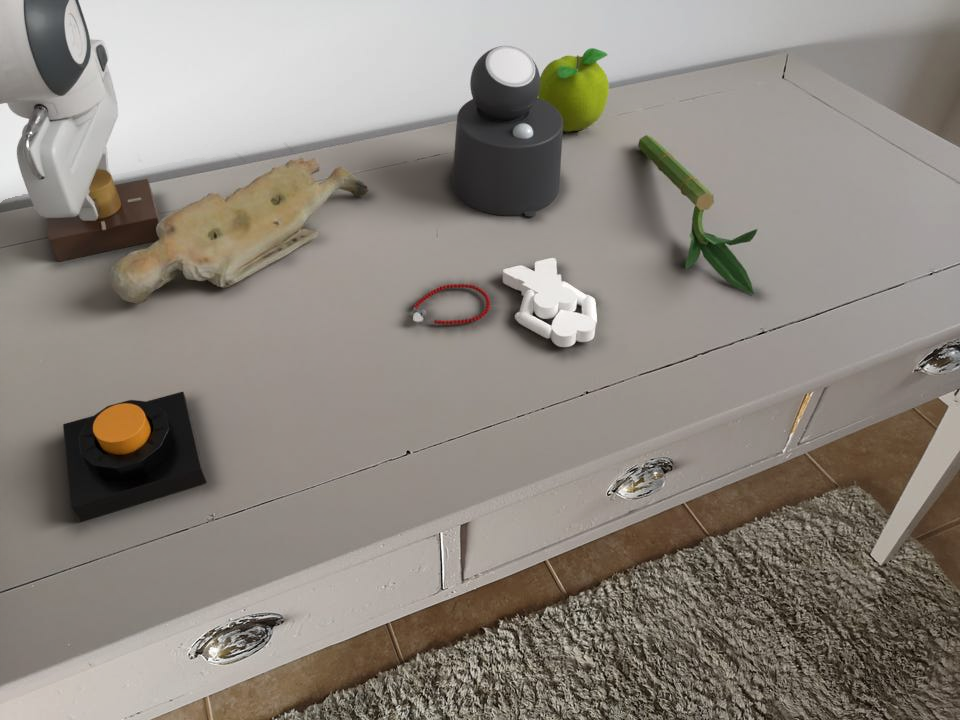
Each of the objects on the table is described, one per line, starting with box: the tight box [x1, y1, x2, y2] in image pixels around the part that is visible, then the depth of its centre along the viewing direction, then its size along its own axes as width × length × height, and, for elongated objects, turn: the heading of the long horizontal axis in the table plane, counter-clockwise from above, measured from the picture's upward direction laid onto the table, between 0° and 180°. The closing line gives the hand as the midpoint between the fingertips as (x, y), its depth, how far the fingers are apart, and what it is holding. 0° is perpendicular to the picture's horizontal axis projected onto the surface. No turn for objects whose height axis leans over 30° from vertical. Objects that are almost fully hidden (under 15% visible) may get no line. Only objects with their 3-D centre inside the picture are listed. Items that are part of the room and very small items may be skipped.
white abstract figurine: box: [502, 257, 598, 348], centre depth 81 cm, size 9×12×2 cm
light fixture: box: [451, 45, 564, 218], centre depth 91 cm, size 13×16×14 cm
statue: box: [109, 157, 369, 305], centre depth 84 cm, size 10×7×30 cm
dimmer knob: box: [88, 169, 121, 219], centre depth 84 cm, size 4×4×4 cm
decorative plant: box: [637, 134, 758, 295], centre depth 92 cm, size 6×8×30 cm
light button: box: [93, 403, 151, 455], centre depth 63 cm, size 4×4×2 cm
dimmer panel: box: [46, 178, 161, 262], centre depth 87 cm, size 11×9×3 cm
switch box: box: [62, 391, 207, 523], centre depth 65 cm, size 10×9×4 cm
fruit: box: [538, 47, 610, 133], centre depth 103 cm, size 9×9×10 cm
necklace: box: [412, 283, 491, 325], centre depth 81 cm, size 9×6×1 cm
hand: (97, 200), depth 85 cm, fingers closed on dimmer knob, 4 cm apart
